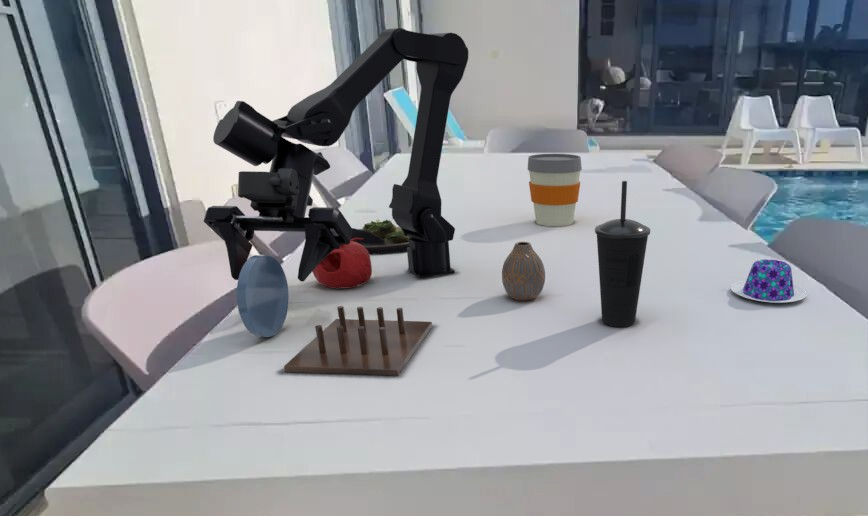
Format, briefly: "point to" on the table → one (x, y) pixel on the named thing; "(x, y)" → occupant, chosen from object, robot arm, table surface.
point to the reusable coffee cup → (554, 187)
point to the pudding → (769, 283)
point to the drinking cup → (620, 266)
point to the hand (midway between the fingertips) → (267, 279)
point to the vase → (523, 273)
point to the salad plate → (381, 237)
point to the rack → (361, 345)
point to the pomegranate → (345, 267)
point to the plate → (262, 295)
